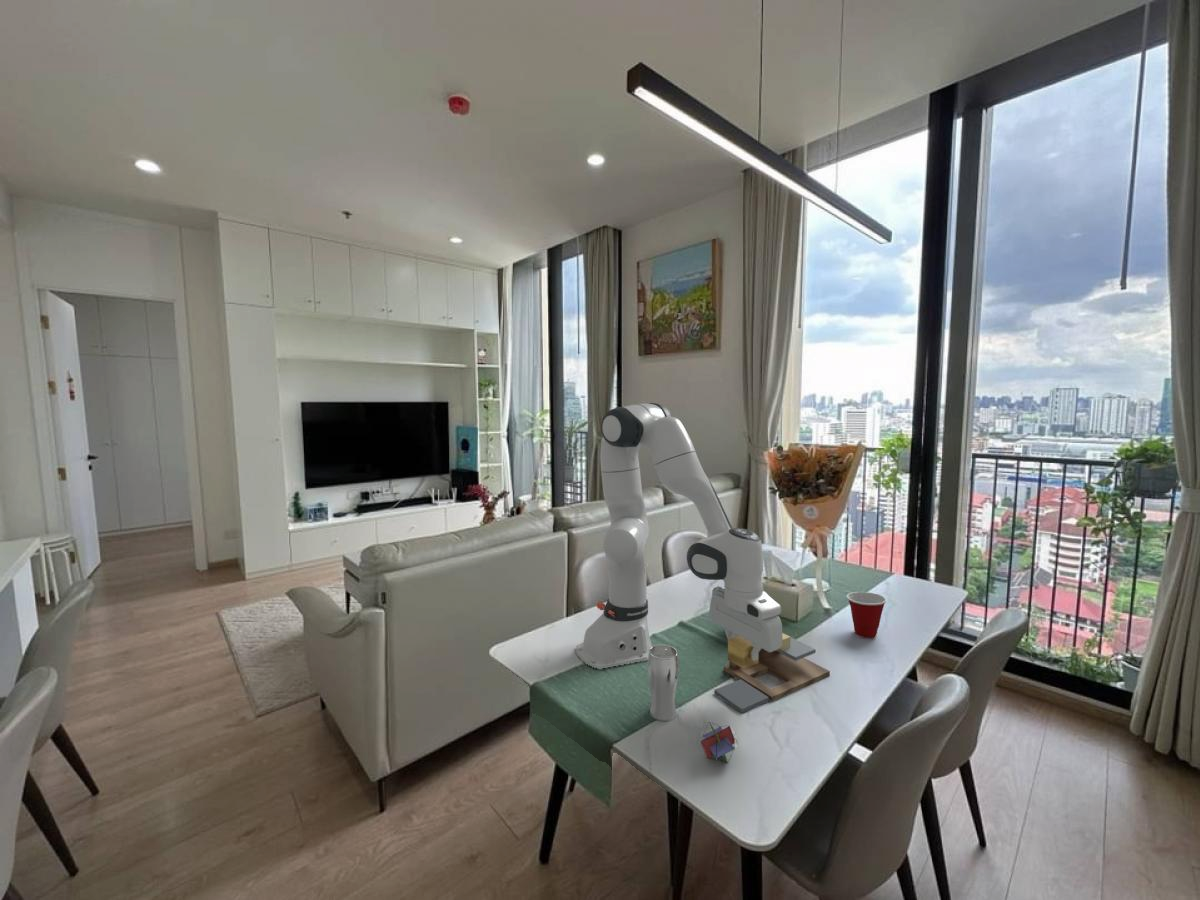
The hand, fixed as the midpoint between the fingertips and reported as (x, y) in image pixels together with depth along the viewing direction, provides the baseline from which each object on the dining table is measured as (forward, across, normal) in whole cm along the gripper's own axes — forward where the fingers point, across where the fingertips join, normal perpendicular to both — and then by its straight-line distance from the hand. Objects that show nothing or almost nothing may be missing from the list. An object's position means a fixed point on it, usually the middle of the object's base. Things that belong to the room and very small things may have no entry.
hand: (743, 652), depth 118 cm
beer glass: (+11, -5, -20) cm, 24 cm away
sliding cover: (+6, -4, +21) cm, 22 cm away
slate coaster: (+11, 0, 0) cm, 11 cm away
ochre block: (+2, 0, 0) cm, 2 cm away
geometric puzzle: (+12, +12, -19) cm, 25 cm away
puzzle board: (+12, -3, +16) cm, 20 cm away
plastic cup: (+12, -4, +57) cm, 58 cm away
